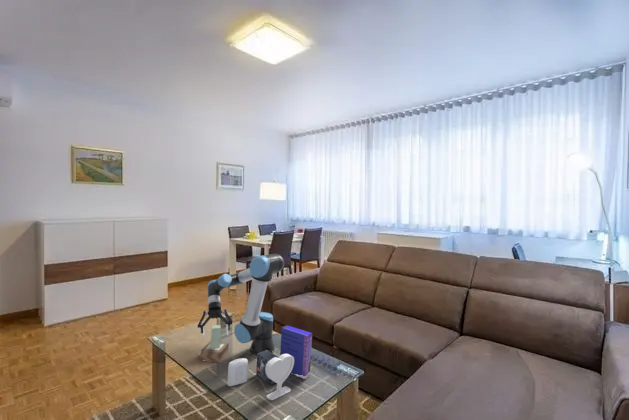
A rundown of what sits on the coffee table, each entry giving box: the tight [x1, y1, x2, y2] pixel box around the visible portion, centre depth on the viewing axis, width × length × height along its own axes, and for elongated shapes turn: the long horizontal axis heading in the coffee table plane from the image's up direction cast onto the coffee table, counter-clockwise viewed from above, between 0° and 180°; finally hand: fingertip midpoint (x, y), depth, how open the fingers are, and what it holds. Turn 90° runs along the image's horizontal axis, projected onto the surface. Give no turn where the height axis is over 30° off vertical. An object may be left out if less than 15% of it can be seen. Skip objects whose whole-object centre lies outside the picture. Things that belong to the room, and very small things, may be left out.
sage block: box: [210, 324, 222, 349], centre depth 189 cm, size 5×5×12 cm
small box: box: [255, 350, 280, 386], centre depth 170 cm, size 13×7×12 cm, turn 45°
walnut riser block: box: [200, 340, 230, 364], centre depth 190 cm, size 12×12×6 cm
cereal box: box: [279, 325, 313, 376], centre depth 176 cm, size 17×5×24 cm, turn 58°
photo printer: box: [227, 357, 249, 387], centre depth 164 cm, size 10×4×12 cm, turn 123°
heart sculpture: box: [265, 354, 294, 401], centre depth 157 cm, size 16×5×18 cm, turn 135°
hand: (215, 337), depth 187 cm, fingers open, 13 cm apart
